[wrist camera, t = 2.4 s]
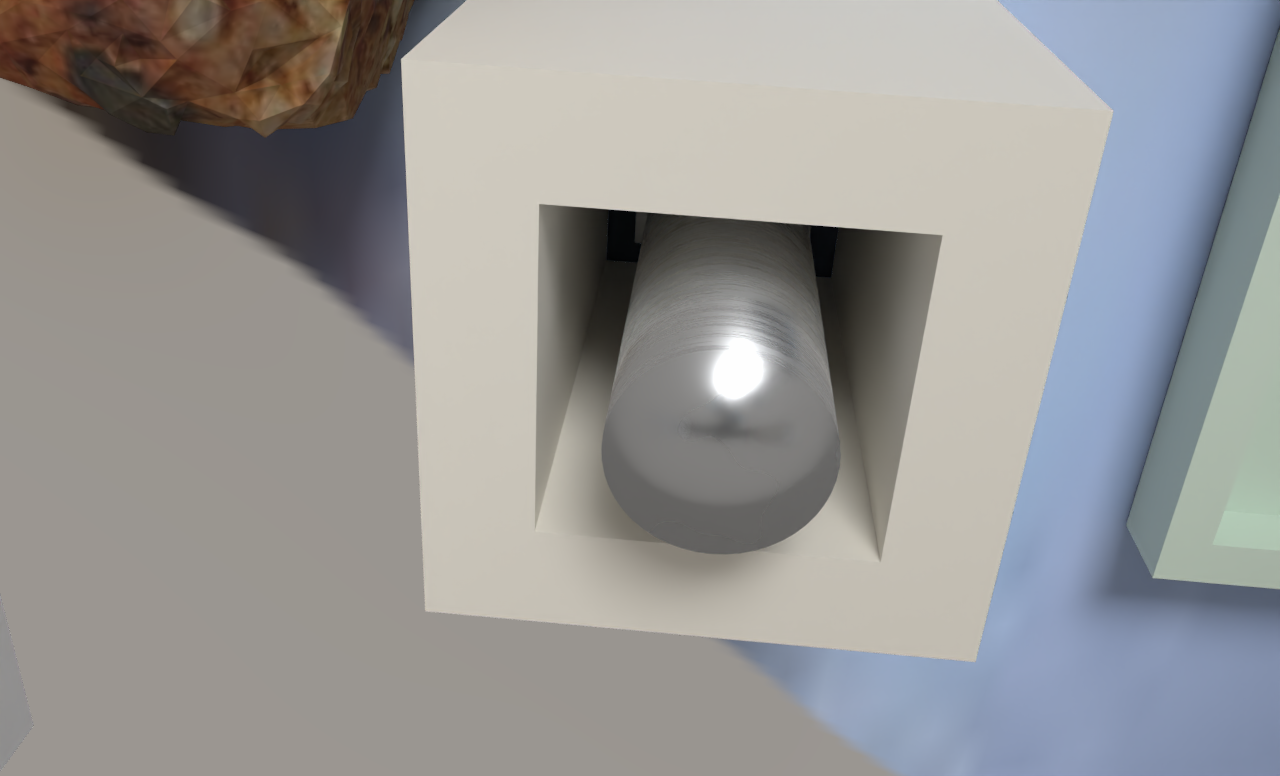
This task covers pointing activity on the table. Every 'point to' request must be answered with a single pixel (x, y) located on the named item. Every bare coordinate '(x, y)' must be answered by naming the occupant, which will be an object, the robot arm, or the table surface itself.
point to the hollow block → (747, 190)
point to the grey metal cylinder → (722, 386)
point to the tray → (1225, 393)
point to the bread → (204, 58)
